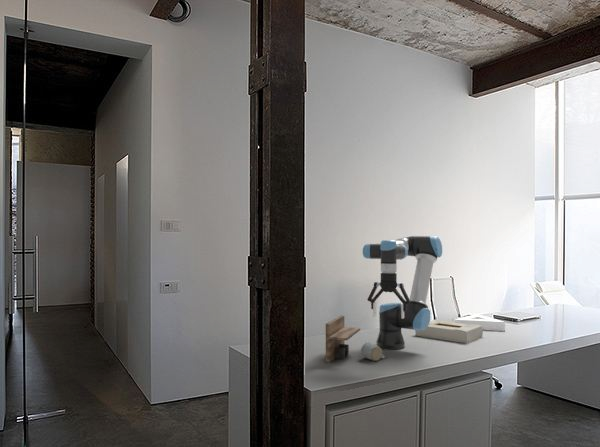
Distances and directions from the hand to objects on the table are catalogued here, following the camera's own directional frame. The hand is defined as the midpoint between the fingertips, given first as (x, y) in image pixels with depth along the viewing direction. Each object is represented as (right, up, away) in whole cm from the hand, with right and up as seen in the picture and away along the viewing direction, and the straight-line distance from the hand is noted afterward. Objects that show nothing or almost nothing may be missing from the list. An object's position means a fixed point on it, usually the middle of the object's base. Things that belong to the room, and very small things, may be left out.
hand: (388, 317), depth 229 cm
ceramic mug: (-6, -21, +4) cm, 23 cm away
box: (+46, -23, +57) cm, 77 cm away
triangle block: (+76, -24, +88) cm, 118 cm away
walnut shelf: (-21, -21, +9) cm, 31 cm away
